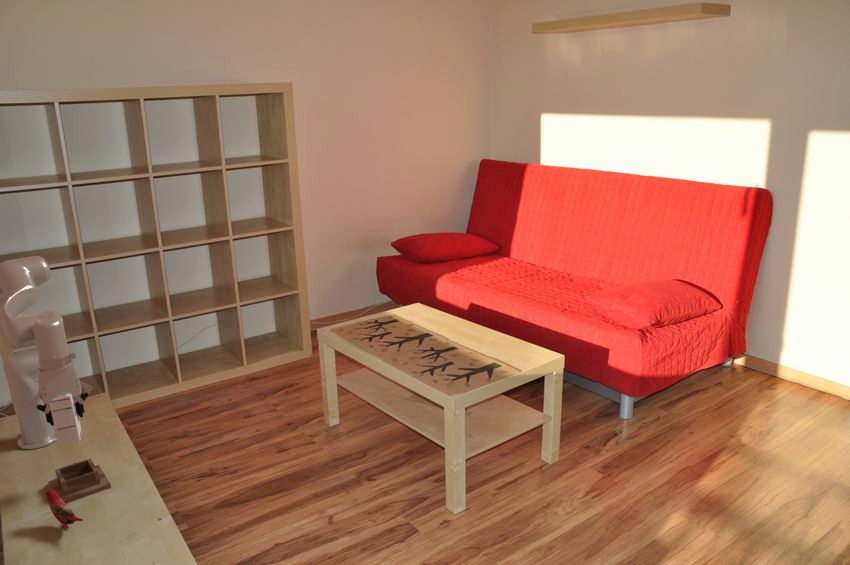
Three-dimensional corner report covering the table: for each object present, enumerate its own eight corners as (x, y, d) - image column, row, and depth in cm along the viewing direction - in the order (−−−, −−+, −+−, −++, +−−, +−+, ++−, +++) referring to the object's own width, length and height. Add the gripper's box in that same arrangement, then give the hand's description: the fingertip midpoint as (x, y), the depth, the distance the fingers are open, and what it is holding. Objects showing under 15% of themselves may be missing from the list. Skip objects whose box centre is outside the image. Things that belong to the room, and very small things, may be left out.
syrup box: (80, 441, 194) (71, 394, 190) (57, 445, 192) (48, 398, 188) (82, 432, 199) (73, 387, 195) (59, 436, 197) (50, 390, 193)
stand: (48, 485, 201) (45, 469, 199) (99, 468, 209) (96, 453, 207) (58, 506, 190) (54, 489, 189) (111, 487, 198) (108, 471, 197)
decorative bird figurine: (57, 516, 185) (50, 483, 183) (92, 537, 175) (85, 504, 173) (46, 521, 183) (39, 488, 180) (81, 544, 173) (74, 509, 170)
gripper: (85, 350, 197) (95, 406, 202) (17, 366, 187) (29, 425, 191) (91, 357, 191) (102, 415, 196) (21, 374, 181) (34, 434, 186)
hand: (66, 419), depth 194 cm, fingers closed on syrup box, 6 cm apart
